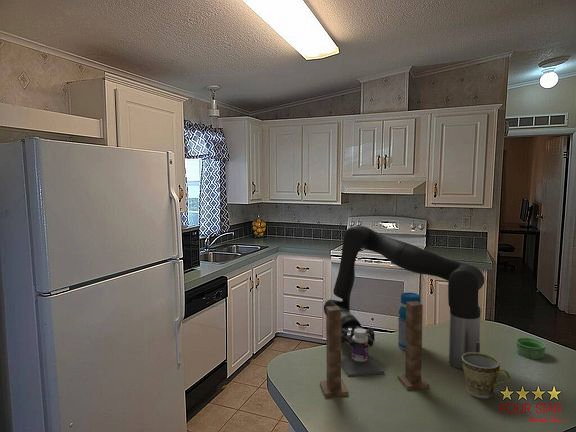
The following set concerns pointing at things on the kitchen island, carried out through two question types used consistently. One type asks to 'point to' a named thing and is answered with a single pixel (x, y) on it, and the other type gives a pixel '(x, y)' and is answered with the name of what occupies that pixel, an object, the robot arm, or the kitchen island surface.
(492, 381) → the ceramic cup
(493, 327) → the kitchen island surface
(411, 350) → the walnut post
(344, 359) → the charcoal mat
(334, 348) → the walnut post
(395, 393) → the kitchen island surface
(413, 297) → the beverage bottle
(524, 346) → the ramekin
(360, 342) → the pill bottle
